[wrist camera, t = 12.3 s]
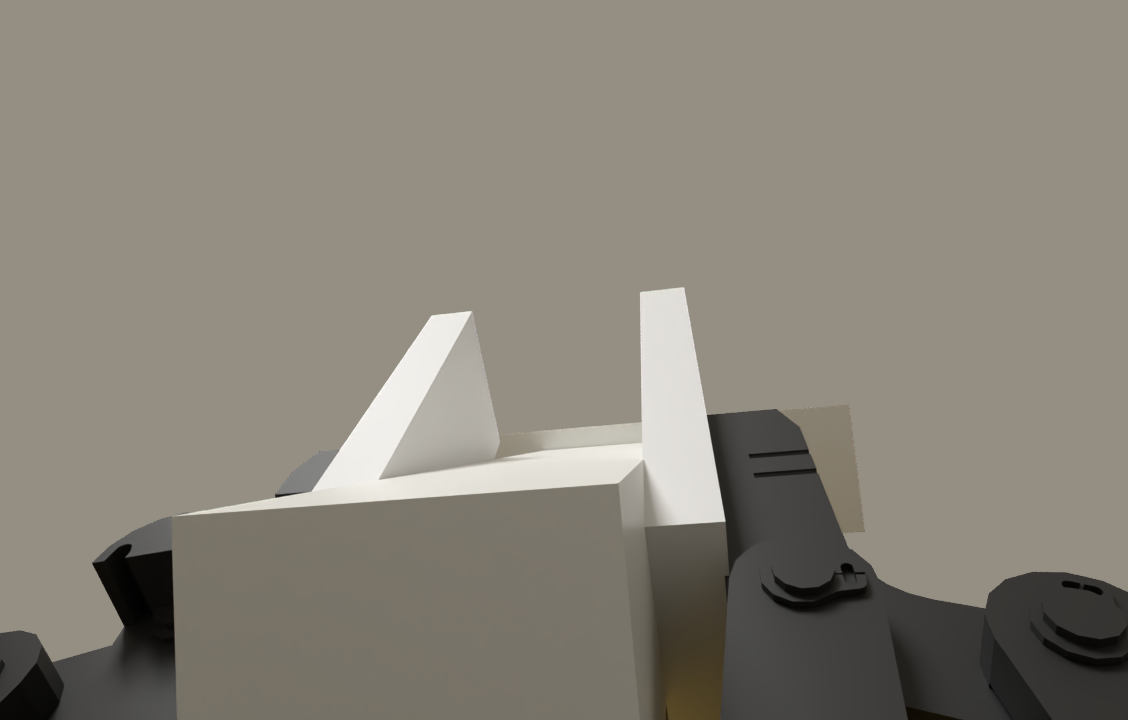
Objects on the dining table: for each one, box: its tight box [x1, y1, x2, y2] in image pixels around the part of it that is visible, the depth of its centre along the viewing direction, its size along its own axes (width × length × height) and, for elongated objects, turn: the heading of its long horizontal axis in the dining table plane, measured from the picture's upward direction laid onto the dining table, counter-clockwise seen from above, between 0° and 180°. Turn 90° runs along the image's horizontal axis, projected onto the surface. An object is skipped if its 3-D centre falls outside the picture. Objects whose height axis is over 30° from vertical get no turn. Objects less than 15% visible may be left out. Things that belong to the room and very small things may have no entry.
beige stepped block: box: [171, 405, 865, 720], centre depth 15 cm, size 12×22×3 cm, turn 171°
